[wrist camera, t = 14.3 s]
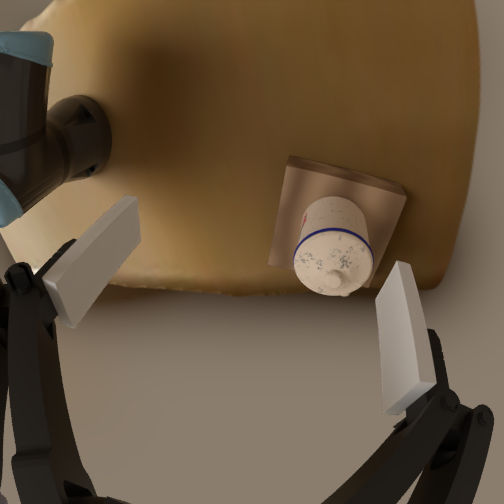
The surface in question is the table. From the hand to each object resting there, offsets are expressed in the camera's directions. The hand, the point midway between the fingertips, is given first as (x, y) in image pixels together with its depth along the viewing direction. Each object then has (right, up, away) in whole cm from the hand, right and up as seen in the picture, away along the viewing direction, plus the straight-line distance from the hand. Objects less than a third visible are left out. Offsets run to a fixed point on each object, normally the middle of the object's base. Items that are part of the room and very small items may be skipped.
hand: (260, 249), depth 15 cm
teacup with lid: (+11, +3, +26) cm, 28 cm away
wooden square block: (+12, +5, +29) cm, 32 cm away
